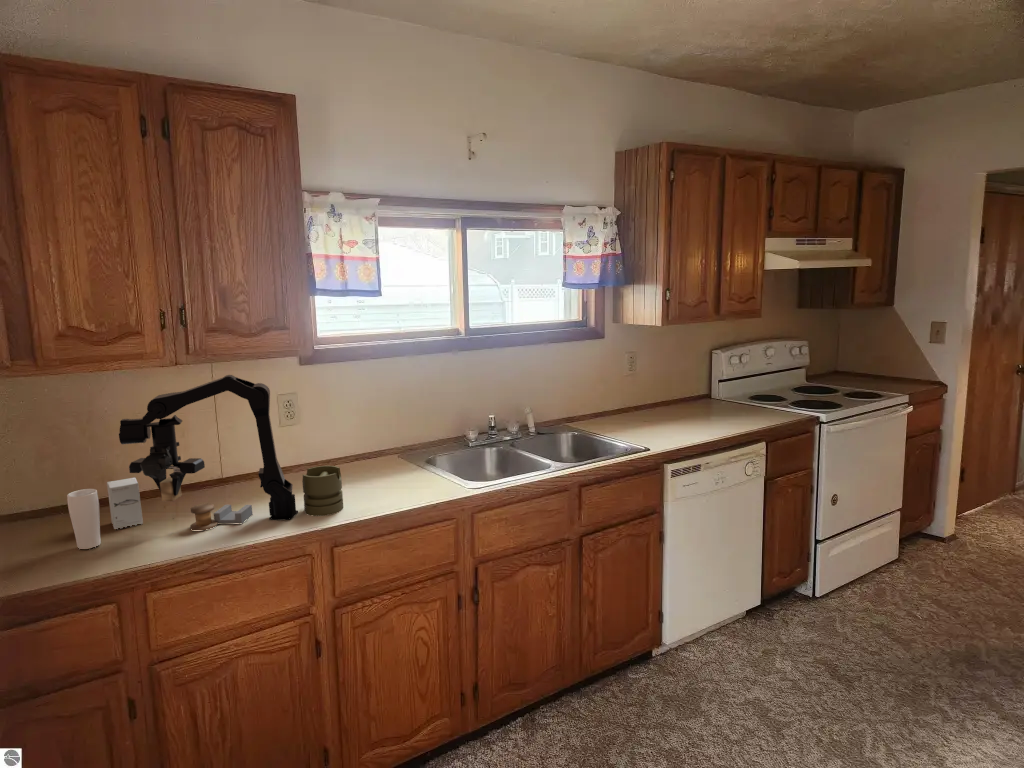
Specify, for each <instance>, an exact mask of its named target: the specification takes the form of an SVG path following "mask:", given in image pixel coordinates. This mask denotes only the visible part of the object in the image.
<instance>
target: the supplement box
mask: <svg viewBox="0 0 1024 768" xmlns="http://www.w3.org/2000/svg"><path fill="white" fill-rule="evenodd" d="M106 489H107V494H108V495H107V496H108V502H109V512H110V521H111V524H113V525H112V526H113V527H112V528H113V530H114V529H117V530H119V529H118V528H120V529H123V527H125V528H128V527H127V526H130V527H133V526H132V525H135V526H138V525H137V524H141V525H143V524H144V520H143V511H142V505H141V496H140V487H139V482H138V480H137V478H136V477H129V478H124V479H118V480H112V481H111V480H110V481H107V482H106Z"/></svg>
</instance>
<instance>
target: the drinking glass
mask: <svg viewBox="0 0 1024 768" xmlns="http://www.w3.org/2000/svg"><path fill="white" fill-rule="evenodd" d="M66 499H67V507H68V513H69V517H70V521H71V524H72V525H71V526H72V528H73V532H74V538H75V541H76V547H78V548H79V549H78V548H77V549H78V550H80V549H88V548H92V547H95V548H97V547H96V546H98V545H99V546H100V545H101V543H102V540H101V525H100V524H101V523H100V521H101V520H100V519H101V517H100V501H99V493H98V490H97V489H96V488H84V489H79V490H75V491H72V492H69V493H68V494H67V495H66ZM99 546H98V547H99Z"/></svg>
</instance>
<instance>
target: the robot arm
mask: <svg viewBox="0 0 1024 768" xmlns="http://www.w3.org/2000/svg"><path fill="white" fill-rule="evenodd" d="M225 392H229V393H232V394H234V395H237V396H238V397H240V398H242V399H245V400H247V402H248V404H249V407H250V409H251V412H252V414H253V416H254V418H255V422H256V428H257V434H258V440H259V445H260V446H259V447H260V451H261V457H262V463H263V467H259V471H258V474H257V475H258V478H259V480H260V486H259V487H260V488H262V489H263V492H264V493H265V494H267V495H269V496H270V497H269V502H268V508H269V509H268V510H269V516H270V517H268V520H269V521H273V520H274V521H289V520H292V519H294V518H295V516H296V515H297V514H298V513H299V510H297V506H296V494H295V493H293V483H291V482H290V481H289V480H287V479H286V478H285V475H284V472H283V469H282V467H281V465H280V463H279V461H278V457H277V451H276V447H275V446H276V445H275V439H274V434H273V429H272V421H271V416H270V412H271V411H270V410H271V409H270V407H271V406H270V405H271V390H270V387H269V386H268V385H266V384H264V383H261V382H257V383H254V382H252V381H248V380H246V379H243V378H239V377H237V376H235V375H233V374H227V375H224V376H223V377H220V378H218V379H215V380H212V381H208V382H207V383H204V384H200V385H197V386H194V387H192V388H188V389H186V390H183V391H177V392H175V391H174V392H170V393H161V394H158V395H157V396H155V397H153V398H152V399H151V400H150V401H149V402H148V404H147V405H146V406H147V407H146V410H147V412H146V413H145V414H144V416H142V417H141V418H122V419H121V420H120V421H119V423H120V425H119V433H118V440H119V443H120V444H121V445H132V444H142V443H143V444H145V443H147V440H149V439H151V438H152V439H151V440H152V446H150V447H149V448H150V449H149V454H148V455H147V456H146V457H140V458H138V459H135V460H134V461H131V462H130V463H129V465H128V471H129V473H130V474H140V473H141V472H142V473H143V475H144V476H146V477H149V478H151V479H152V480H153V481H154V483H155V484H156V486H157V488H158V490H159V492H160V493H161V488H160V482H162V481H163V480H165V479H167V470H173V472H172V473H169V477H171V478H172V482H173V492H174V496H176V495H178V492H179V489H180V487H181V486H182V485H183V484H182V483H183V481H184V479H185V476H186V474H187V475H188V474H189V475H190V474H196V473H198V472H199V471H202V470H203V469H204V468H205V465H206V464H205V461H204V459H203V458H202V457H201V458H191V457H190V458H188V459H186V460H184V461H181V459H182V458H181V456H180V455H178V448H177V447H179V446H180V442H179V441H177V437H176V426H180V425H181V424H182V422H183V420H182V419H181V418H180V417H178V416H177V414H174V413H176V412H177V411H180V410H181V409H183V408H184V407H186V406H188V405H191V404H194V403H196V402H200V401H202V400H205V399H208V398H211V397H213V396H214V397H215V396H216V395H219V394H222V393H225ZM172 414H174V415H173V416H172V417H171V418H167V417H169V416H170V415H172ZM155 420H159V421H157V422H154V421H155ZM205 469H206V468H205Z"/></svg>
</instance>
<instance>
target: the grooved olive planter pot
mask: <svg viewBox="0 0 1024 768" xmlns="http://www.w3.org/2000/svg"><path fill="white" fill-rule="evenodd" d="M306 469H307V470H306V474H302V492H303V493H304V494H303V506H304V513H305V514H306V515H307V514H308V515H307V516H311V515H313V517H324V516H331V515H335V514H338V513H340V512H341V511H342V510H344V498H343V495H344V494H343V490H342V489H343V485H342V484H343V482H342V481H343V480H342V474H341V467H339V466H336V465H319V466H313V467H309V468H306ZM339 511H340V512H339ZM337 512H338V513H337Z"/></svg>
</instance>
